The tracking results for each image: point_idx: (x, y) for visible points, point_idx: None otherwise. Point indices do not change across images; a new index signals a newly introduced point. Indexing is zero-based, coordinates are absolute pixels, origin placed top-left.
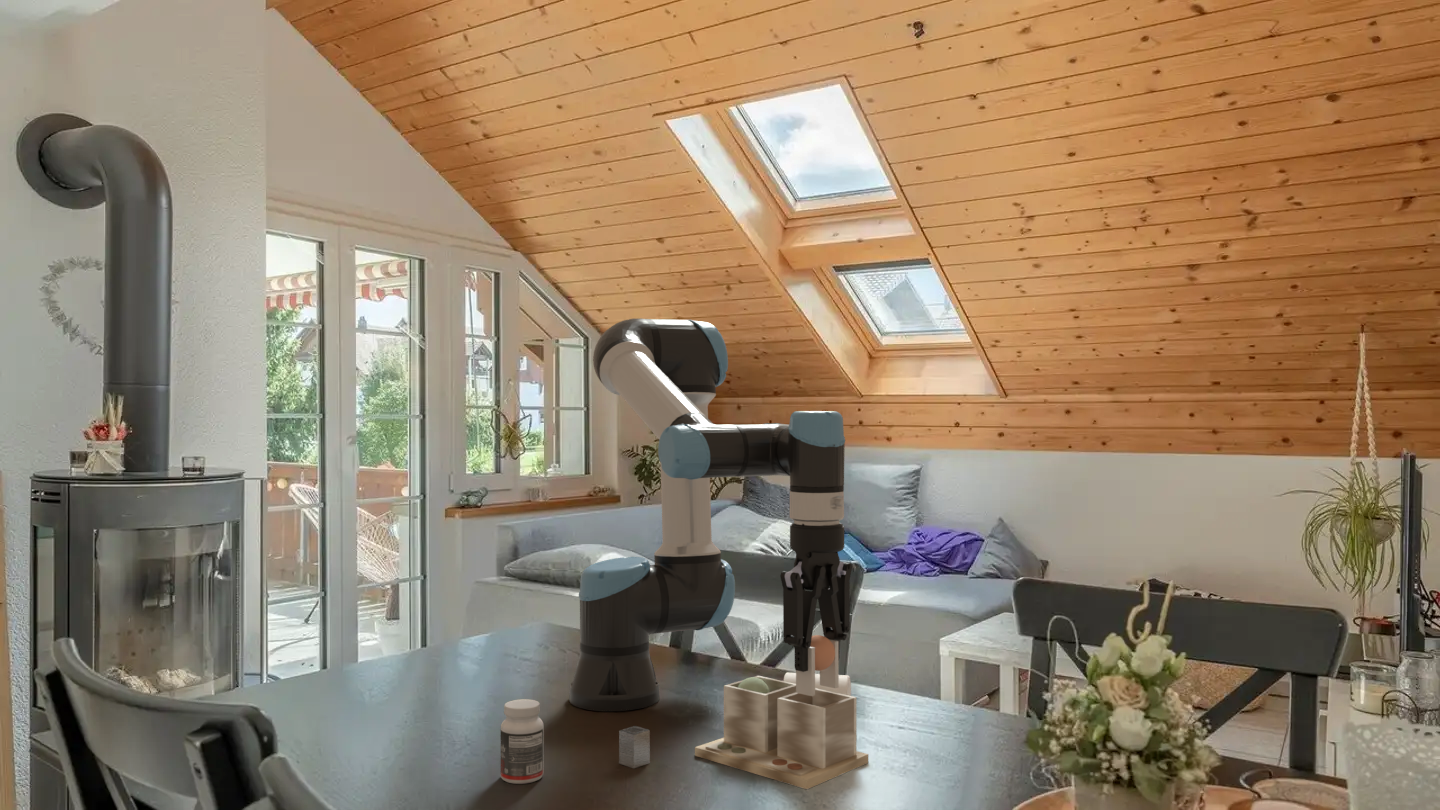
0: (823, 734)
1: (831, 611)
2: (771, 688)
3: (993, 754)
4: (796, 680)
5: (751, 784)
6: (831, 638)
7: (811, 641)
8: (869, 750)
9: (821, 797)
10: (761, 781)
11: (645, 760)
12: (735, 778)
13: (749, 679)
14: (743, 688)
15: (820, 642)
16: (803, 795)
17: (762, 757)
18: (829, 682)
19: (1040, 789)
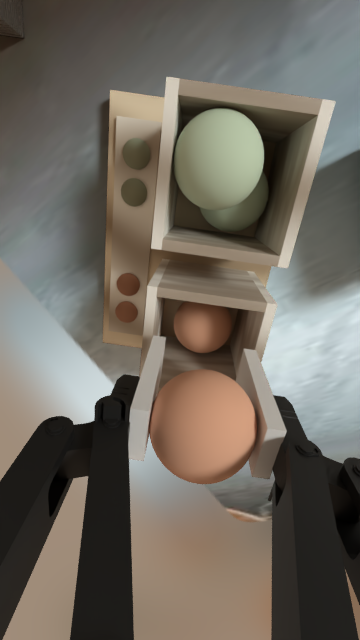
0: None
1: (273, 593)
2: (295, 173)
3: (351, 457)
4: (149, 350)
5: (72, 267)
6: (275, 463)
7: (164, 452)
8: (298, 336)
9: (96, 361)
10: (91, 273)
11: (7, 32)
12: (75, 234)
13: (205, 154)
14: (177, 154)
15: (174, 473)
16: (87, 342)
17: (132, 248)
18: (239, 378)
19: (254, 509)
